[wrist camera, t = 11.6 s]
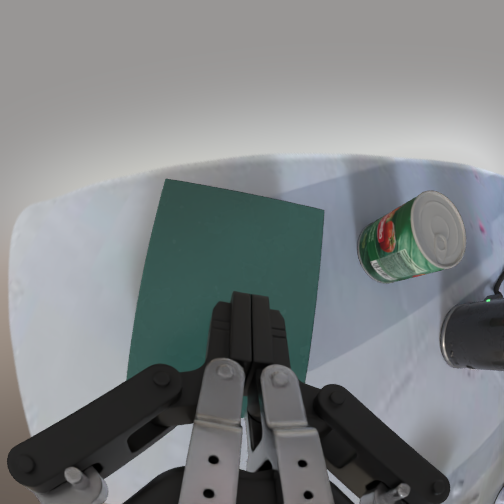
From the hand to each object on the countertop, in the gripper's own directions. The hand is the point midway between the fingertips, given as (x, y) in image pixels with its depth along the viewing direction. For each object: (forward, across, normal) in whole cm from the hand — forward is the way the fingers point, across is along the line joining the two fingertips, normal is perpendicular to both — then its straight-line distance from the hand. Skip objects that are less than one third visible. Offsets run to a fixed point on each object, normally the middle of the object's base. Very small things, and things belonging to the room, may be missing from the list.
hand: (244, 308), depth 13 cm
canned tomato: (+21, -19, +6) cm, 29 cm away
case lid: (+7, 0, +6) cm, 9 cm away
